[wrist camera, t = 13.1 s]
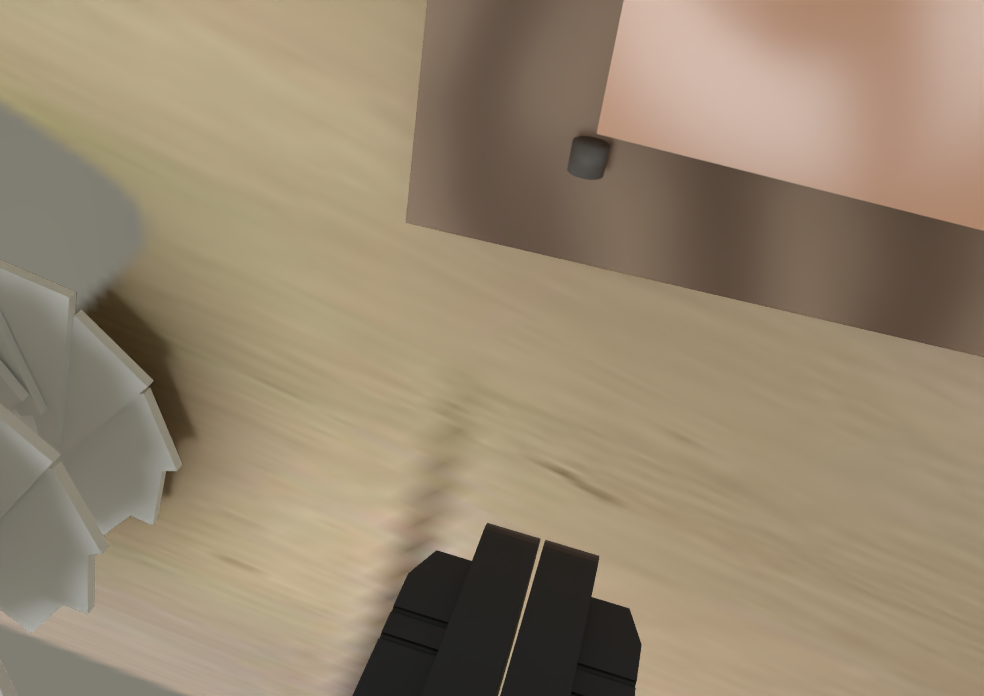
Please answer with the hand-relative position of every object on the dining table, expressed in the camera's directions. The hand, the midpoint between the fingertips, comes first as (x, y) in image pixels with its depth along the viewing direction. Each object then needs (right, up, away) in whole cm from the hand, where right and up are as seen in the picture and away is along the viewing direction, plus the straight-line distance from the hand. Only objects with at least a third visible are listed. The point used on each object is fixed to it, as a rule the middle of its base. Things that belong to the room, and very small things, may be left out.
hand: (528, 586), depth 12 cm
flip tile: (+9, +11, +13) cm, 20 cm away
